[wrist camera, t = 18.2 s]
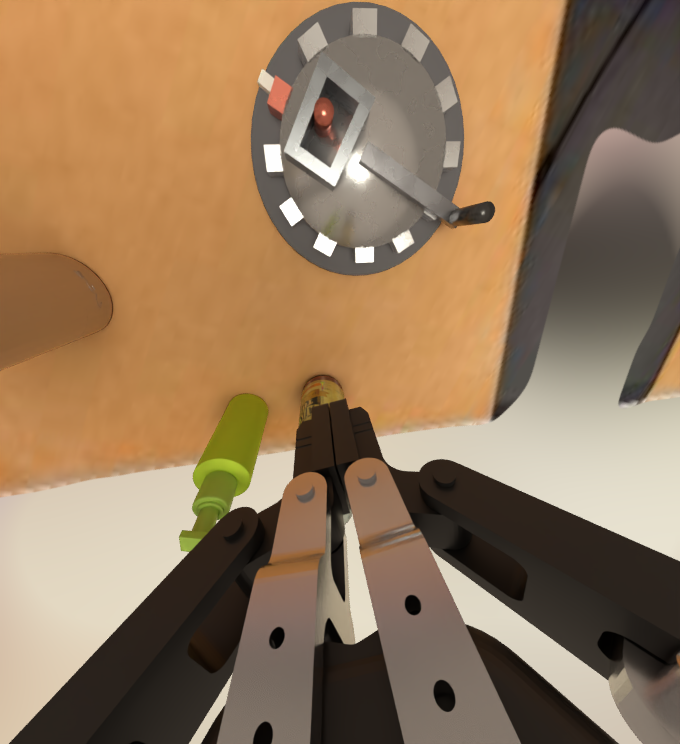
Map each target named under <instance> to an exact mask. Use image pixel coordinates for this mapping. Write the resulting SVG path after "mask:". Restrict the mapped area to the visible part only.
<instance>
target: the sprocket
mask: <svg viewBox="0 0 680 744" xmlns="http://www.w3.org/2000/svg"><path fill="white" fill-rule="evenodd" d="M297 40H298V55H299V58H300V60H301V62H302V64H303V66H304V68H303V69H302V70H301V72H300V73H299V75H298V76H297V78H296V80H295V82H294V84H293V85H292V87H291V86H290V85H288V84H287V83H286V82H284V81H283V80H281V79H280V78H279V77H277V76H276V75H275V78H274V82H273V85H272V88H271V91H270V94H269V98H268V101H267V105H268V108H269V111H270V114H272V115H273V116H275V117H276V118H278V119H279V120H281V121H282V122H281V128H280V144H278V145H264V152H265V159H266V167H267V172H268V174H269V176H270V177H276V176H284V178H285V182H286V185H287V188H288V190H289V193H290V195H291V198H290V199H289V200H287V201H286V202H285V203H283V204H282V205H281V206H279V207H280V208H281V210H282V211H283V213H284V214H285V216H286V218H287V219H288V221H289V222H290V224H291V226H292V227H294V226H295V225H296V224H298V223H299V222H300V221H302V220H303V219H304V220H305V221H306V222H307V223H308V224H309V226H310V227H311V228H312V229H313V230H315V231H316V232H317V233H318V234H319V235H318V238H317V240H316V242H315V244H314V248H316V249H318V250H319V251H321V252H323V253H325V254H326V255H328V256H331V254H332V251H333V249H334V247H335V245H336V244H338V245H341V246H344V247H349V248H353V262H355V263H362V262H374V247H377V246H381V245H384V244H387V243H389V244H390V246H391V249H392V251H393V253H400V252H401V251H403V250H404V249H406V248H407V247H409V246H410V245H412V244H413V243H414V240H413V238H412V236H411V233H410V231H409V229H410V228H411V227H412V226H413V225H414V224H415V223H416V222H417V221H418V220H419V219H420V217H421V218H423V219H424V220H426V221H427V222H428V221H433V220H435V219H436V218H437V219H438V220H440V221H441V222H443V223H444V224H445V225H447V226H448V227H450V228H451V229H453V228H456V227H457V226H464V225H472V224H480V223H486V222H488V221H490V220H491V219H492V217H493V216H494V213H495V207H494V204H493V203H492V202H483V203H479V204H475V205H471V206H467V207H463V208H459V207H457V206H456V205H455V204H453V203H452V202H451V201H449V200H448V199H446V198H445V197H444V196H442V195H441V194H440V193H438V192H437V191H436V190H437V187H438V184H439V181H440V178H441V174H442V172H449V171H451V170H453V169H454V168H456V167H457V166H458V158H459V150H460V142H461V141H446V127H445V120H444V114H445V113H446V112H448V111H449V110H450V109H451V108H452V107H453V106H454V105H455V104H456V103H457V102H458V101H457V97H456V94H455V91H454V87H453V84H452V80H451V77H450V76H448V77H447V78H446V79H444V80H443V81H442V82H441V83H439V84H438V85H437V86H435V85H434V83H433V82H432V80H431V78H430V76H429V74H428V73H427V71H426V70H425V68H424V67H423V66H422V64H421V63H420V61H421V59H422V57H423V55H424V53H425V50H426V48H427V46H428V44H429V42H430V41H429V40H428V39H427V38H426V37H425V36H424V35H423V34H422V33H421V32H420V31H419V30H418V29H417V28H416V27H415V26H413V25H412V24H410V26H409V28H408V30H407V33H406V35H405V37H404V39H403V42H402V44H401V45H400V44H398V43H396V42H394V41H392V40H390V39H388V38H385V37H381V36H378V35H377V8H352V14H351V20H350V25H349V36H347V37H343V38H340V39H338V40H336V41H334V42H332V43H330V44H327V42H326V39H325V37H324V35H323V32H322V30H321V28H320V26H319V23H318V22H317V23H316V24H314V25H313V26H312V27H311V28H310V29H309V30H308V31H307V32H305V33H304V34H303V35H302V36H301V37H300V38H299V39H297ZM321 52H323V53H324V54H326V55H327V56H328V57H329V58H330V59H331V60H333V61H334V62H335V63H336V64H337V65H338V66H340V67H341V68H342V69H343V70H344V71H345V72H347V73H348V74H349V75H350V76H351V77H352V78H354V79H355V80H356V81H357V82H358V83H359V84H361V85H362V86H363V87H364V88H365V89H366V90H368V91H369V92H370V93H371V94H372V95H373V96H375V97H376V98H375V101H374V103H373V105H372V107H371V110H370V112H369V114H368V116H367V118H366V121H365V123H364V125H363V127H362V129H361V132H360V134H359V136H358V138H357V140H356V142H355V145H354V147H353V149H352V151H351V153H350V155H349V158H348V160H347V162H346V164H345V166H344V169H343V171H342V173H341V175H340V177H339V179H338V182H337V184H336V186H335V188H334V190H333V192H332V191H331V190H329V189H328V188H327V187H325V186H324V185H322V184H321V183H319V182H318V181H316V180H315V179H313V178H312V177H311V176H309V175H308V174H306V173H305V172H303V171H302V170H300V169H299V168H298V167H296V166H295V165H293V164H292V163H290V162H289V161H287V160H286V157H285V154H284V149H285V147H286V144H287V141H288V139H289V136H290V133H291V131H292V128H293V125H294V123H295V120H296V118H297V115H298V112H299V110H300V107H301V104H302V102H303V99H304V96H305V94H306V91H307V89H308V86H309V83H310V81H311V78H312V75H313V73H314V70H315V67H316V65H317V62H318V60H319V57H320V54H321ZM352 118H353V115H352V114H351V113H350V112H348V111H347V110H346V109H345V108H344V107H342V106H341V105H340V104H339V103H337V102H336V101H335V100H334V99H332V98H331V97H330V96H329V95H327V94H326V93H325V95H324V97H322V98H319V99H318V100H317V101H316V103H315V106H314V123H313V125H312V128H311V130H310V133H309V135H308V138H307V140H306V143H305V145H304V148H303V149H304V150H306V151H307V152H309V153H310V154H311V155H313V156H314V157H316V158H317V159H318V160H320V161H321V162H323V163H324V164H325V165H327V166H328V167H330V168H331V166H332V163H333V161H334V159H335V157H336V154H337V152H338V150H339V148H340V145H341V143H342V141H343V139H344V136H345V134H346V132H347V130H348V127H349V125H350V123H351V121H352Z"/></svg>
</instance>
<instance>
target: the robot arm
mask: <svg viewBox="0 0 680 744" xmlns="http://www.w3.org/2000/svg"><path fill="white" fill-rule="evenodd" d="M111 315H112V302H111V299H110V295H109V293H108V291H107V289H106V287H105V286H104V284H103V283H102V281H101V280H100V279H99V278H98V277H97V276H96V275H95V274H94V273H93V272H92V271H91V270H90V269H89V268H87V267H86V266H85V265H83V264H82V263H80V262H78V261H76V260H74V259H72V258H70V257H67V256H64V255H61V254H55V253H28V254H0V371H1V370H3V369H6V368H8V367H11V366H13V365H16V364H18V363H21V362H23V361H26V360H28V359H31V358H33V357H36V356H38V355H41V354H43V353H46V352H48V351H51V350H53V349H56V348H58V347H61V346H63V345H66V344H68V343H71V342H73V341H76V340H78V339H81V338H83V337H86V336H88V335H91V334H93V333H96V332H98V331H100V330H101V329H103V328H104V327H105V326H106V325H107V324H108V322H109V320H110V319H111ZM329 405H330V406H329ZM295 448H296V449H295V461H294V473H293V480H291V481H290V482H289V484H288V485H287V486H286V488H285V490H284V493H283V497H282V499H281V500H280V501H278V502H277V503H276V504H274V505H272V506H270V507H269V508H267V509H265V510H263V511H261V512H260V513H258V514H257V513H256V512H255V510H254V509H252V508H250V507H241V508H237V509H235V510H232V511H231V512H229V513H227V514H226V515H225V516H224V517H223V518H222V519H220V521H219V522H218V523H217V524H216V525H215V526H214V527H213V528H212V529H211V530H210V531H209V532H208V533H207V534H206V535H205V536H204V537H203V538H202V540H201V541H200V542H199V543H198V544H197V545H196V546H195V547H194V548H193V549H192V550H191V551H190V552H189V553H188V554H187V556H186V557H185V558H184V559H183V560H182V561H181V562H180V563H179V564H178V565H177V566H176V567H175V568H174V569H173V570H172V572H170V574H169V575H168V576H167V577H166V578H165V579H164V580H163V581H162V582H161V583H160V584H159V585H158V586H157V587H156V588H155V589H154V590H153V592H152V593H151V594H150V595H149V596H148V597H147V598H146V599H145V600H144V601H143V602H142V603H141V604H140V605H139V606H138V608H137V609H135V611H134V612H133V613H132V614H131V615H130V616H129V617H128V618H127V619H126V620H125V621H124V622H123V623H122V624H121V625H120V626H119V628H118V629H117V630H116V631H115V632H114V633H113V634H112V635H111V636H110V637H109V638H108V639H107V640H106V641H105V643H103V645H102V646H101V647H100V648H99V649H98V650H97V651H96V652H95V653H94V654H93V655H92V656H91V657H90V658H89V659H88V660H87V661H86V663H85V664H84V665H83V666H82V667H81V668H80V669H79V670H78V671H77V672H76V673H75V674H74V675H73V676H72V677H71V678H70V679H69V681H68V682H67V683H66V684H65V685H64V686H63V687H62V688H61V689H60V690H59V691H58V692H57V693H56V694H55V695H54V696H53V697H52V699H51V700H50V701H49V702H48V703H47V704H46V705H45V706H44V707H43V708H42V709H41V710H40V711H39V712H38V713H37V714H36V716H35V717H34V718H33V719H32V720H31V721H30V722H29V723H28V724H27V725H26V726H25V727H24V728H23V729H22V731H20V732H19V733H18V735H17V736H16V737H15V738H14V739H13V740H12V741H11V742H10V743H9V744H189V742H190V741H191V739H192V737H193V736H194V734H195V733H196V731H197V729H198V728H199V726H200V724H201V723H202V721H203V720H204V718H205V716H206V715H207V713H208V712H209V710H210V708H211V707H212V705H213V704H214V702H215V700H216V699H217V697H218V696H219V694H220V692H221V691H222V689H223V687H224V686H225V684H226V683H227V681H228V679H229V678H230V676H231V675H232V673H233V675H232V679H231V684H230V688H229V692H228V697H227V701H226V704H225V706H224V707H223V709H222V710H221V712H220V713H219V715H218V716H217V718H216V719H215V721H214V722H213V724H212V726H211V728H210V729H209V731H208V733H207V734H206V736H205V738H204V739H203V741H202V743H201V744H618V743H617V742H616V741H615V740H614V739H613V738H612V737H610V736H609V735H608V734H607V733H606V732H605V731H604V730H602V729H601V728H600V727H599V726H598V725H597V724H596V723H594V722H593V721H592V720H591V719H590V718H589V717H588V716H586V715H585V714H584V713H583V712H582V711H581V710H579V709H578V708H577V707H576V706H575V705H574V704H573V703H571V702H570V701H569V700H568V699H567V698H566V697H565V696H563V695H562V694H561V693H560V692H559V691H558V690H557V689H556V688H554V687H553V686H552V685H551V684H550V683H549V682H547V681H546V680H545V679H544V678H543V677H542V676H541V675H540V674H538V673H537V672H536V671H535V670H534V669H532V667H530V666H529V665H528V664H527V663H526V662H525V661H523V660H522V659H521V658H520V657H519V656H518V655H517V654H515V653H514V652H513V651H512V650H511V649H509V648H508V647H507V646H505V645H504V644H502V643H501V642H499V641H498V640H497V639H495V638H493V637H492V636H490V635H488V634H487V633H485V632H483V631H481V630H478V629H476V628H474V627H471V626H469V625H466V624H465V623H464V621H463V619H462V617H461V615H460V612H459V610H458V608H457V606H456V604H455V602H454V600H453V598H452V595H451V593H450V591H449V589H448V587H447V585H446V583H445V580H444V579H443V576H442V574H441V572H440V570H439V568H438V566H437V563H436V561H435V559H434V557H433V555H432V553H431V551H430V549H429V547H430V548H431V549H432V550H433V551H434V552H435V553H436V554H437V555H438V556H440V557H441V558H442V559H444V560H445V561H446V562H448V563H449V564H450V565H452V566H453V567H455V568H456V569H457V570H459V571H460V572H462V573H463V574H464V575H466V576H467V577H468V578H470V579H471V580H472V581H474V582H475V583H476V584H478V585H479V586H481V587H482V588H483V589H485V590H486V591H487V592H489V593H490V594H491V595H493V596H494V597H495V598H497V599H498V600H499V601H501V602H502V603H504V604H505V605H506V606H508V607H509V608H510V609H512V610H513V611H514V612H516V613H517V614H519V615H520V616H522V617H523V618H524V619H525V620H527V621H528V622H529V623H531V624H533V625H534V626H535V627H536V628H538V629H539V630H540V631H542V632H543V633H544V634H546V635H547V636H549V637H550V638H551V639H553V640H554V641H555V642H557V643H558V644H559V645H561V646H562V647H564V648H565V649H566V650H568V651H569V652H570V653H572V654H573V655H574V656H576V657H577V658H579V659H580V660H581V661H583V662H584V663H585V664H587V665H588V666H589V667H591V668H592V669H594V670H595V671H596V672H598V673H599V674H600V675H602V676H603V677H604V678H606V679H607V680H609V685H610V690H611V693H612V696H613V699H614V701H615V703H616V706H617V708H618V709H619V711H620V713H621V715H622V717H623V718H624V720H625V721H626V723H627V724H628V726H629V727H630V729H631V730H632V731H633V733H634V734H635V735H636V736H637V738H638V739H639V740H640V741H641V742H642V743H643V744H680V561H678V560H675V559H673V558H671V557H668V556H666V555H664V554H662V553H659V552H657V551H655V550H652V549H650V548H648V547H646V546H644V545H641V544H639V543H637V542H635V541H632V540H630V539H628V538H625V537H623V536H621V535H619V534H617V533H614V532H612V531H610V530H607V529H605V528H603V527H601V526H598V525H596V524H594V523H591V522H589V521H587V520H585V519H583V518H580V517H578V516H576V515H573V514H571V513H569V512H567V511H564V510H562V509H559V508H558V507H555V506H553V505H551V504H549V503H546V502H544V501H542V500H539V499H537V498H535V497H533V496H530V495H528V494H526V493H524V492H522V491H519V490H517V489H515V488H512V487H510V486H508V485H505V484H503V483H501V482H499V481H497V480H494V479H492V478H490V477H488V476H485V475H483V474H480V473H479V472H476V471H474V470H471V469H469V468H467V467H465V466H463V465H460V464H458V463H456V462H453V461H450V460H444V459H440V460H433V461H430V462H428V463H426V464H425V465H424V466H423V467H422V468H421V470H420V472H408V471H400V470H397V469H395V468H393V467H391V466H390V465H388V464H387V463H386V462H385V460H384V459H383V457H382V453H381V450H380V447H379V445H378V442H377V439H376V436H375V433H374V430H373V427H372V424H371V421H370V418H369V415H368V412H366V411H365V410H364V409H363V408H361V407H358V408H354V409H350V410H349V409H348V405H347V401H346V398H345V399H341V400H337V401H333V402H330V403H326V404H322V405H318V406H314V407H312V408H311V419H310V420H306V421H302V423H301V424H300V426H299V428H298V429H297V434H296V447H295ZM349 505H350V508H351V511H352V514H353V519H354V523H355V527H356V531H357V535H358V540H359V544H360V547H359V549H360V554H361V559H362V563H363V567H364V572H365V575H366V580H367V585H368V589H369V593H370V597H371V601H372V606H373V610H374V615H375V619H376V623H377V628H378V630H377V631H376V632H374V633H373V634H371V635H369V636H368V637H366V638H365V639H363V640H362V641H360V642H358V643H356V644H355V637H354V628H353V623H352V618H351V612H350V603H349V585H348V564H347V563H348V562H347V541H346V535H345V527H344V518H343V515H345V514H349V513H350V508H349Z"/></svg>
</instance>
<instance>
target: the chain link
mask: <svg viewBox="0 0 680 744" xmlns="http://www.w3.org/2000/svg"><path fill="white" fill-rule="evenodd" d="M325 93H326V94H327V95H329V96H330V97H331V98H332V99H334V100H335V101H336V102H337V103H339V104H340V105H341V106H342V107H344V108H345V109H346V110H347V111H348V112H350V113H351V114H352V115H353V118H352V121H351V123H350V125H349V127H348V130H347V132H346V134H345V136H344V139H343V141H342V143H341V145H340V148H339V150H338V152H337V154H336V157H335V159H334V161H333V163H332V166H331V168H330V167H328V166H327V165H325V164H324V163H323V162H321V161H320V160H318V159H317V158H316V157H314V156H313V155H311V154H310V153H309V152H307V151H306V150H304V149H303V148H304V145H305V143H306V140H307V138H308V135H309V133H310V130H311V128H312V125H313V123H314V106H315V103H316V101H317V100H318V99H319V98H322V97H324V95H325ZM375 98H376V97H375V96H373V95H372V94H371V93H370V92H369V91H368V90H366V89H365V88H364V87H363V86H362V85H361V84H359V83H358V82H357V81H356V80H355V79H354V78H352V77H351V76H350V75H349V74H348V73H347V72H345V71H344V70H343V69H342V68H341V67H340V66H338V65H337V64H336V63H335V62H334V61H333V60H331V59H330V58H329V57H328V56H327V55H326V54H324V53H323V52H321V54H320V57H319V60H318V62H317V65H316V67H315V70H314V73H313V75H312V78H311V81H310V83H309V86H308V89H307V91H306V94H305V96H304V99H303V102H302V104H301V107H300V110H299V112H298V115H297V118H296V120H295V123H294V125H293V128H292V131H291V133H290V136H289V139H288V141H287V144H286V147H285V149H284V154H285V157H286V160H287V161H289V162H290V163H292V164H293V165H295V166H296V167H298V168H299V169H300V170H302V171H303V172H305V173H306V174H308V175H309V176H311V177H312V178H313V179H315V180H316V181H318V182H319V183H321V184H322V185H324V186H325V187H327V188H328V189H329V190H331V191H332V192H333V190H334V188H335V186H336V184H337V182H338V179H339V177H340V175H341V173H342V171H343V169H344V166H345V164H346V162H347V160H348V158H349V155H350V153H351V151H352V149H353V147H354V145H355V142H356V140H357V138H358V136H359V134H360V132H361V129H362V127H363V125H364V123H365V121H366V118H367V116H368V114H369V112H370V110H371V107H372V105H373V103H374V101H375Z"/></svg>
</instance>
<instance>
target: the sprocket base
mask: <svg viewBox="0 0 680 744" xmlns="http://www.w3.org/2000/svg"><path fill="white" fill-rule="evenodd" d="M352 8H377V35H378V36H381V37H385V38H388V39H390V40H392V41H394V42H396V43H398V44H400V45H401V44H402V42H403V39H404V37H405V35H406V33H407V30H408V28H409V26H410V24H412V25H413V26H415V27H416V28H417V29H418V30H419V31H420V32H421V33H422V34H423V35H424V36H425V37H426V38H427V39H428V40H429V41H430V42H429V44H428V46H427V48H426V50H425V53H424V55H423V57H422V59H421V61H420V63H421V64H422V66H423V67H424V68H425V70H426V71H427V73H428V74H429V76H430V78H431V80H432V82H433V83H434V85H435V86H437V85H438V84H439V83H441V82H442V81H443V80H444V79H446V78H447V77H448V76H450V77H451V80H452V84H453V87H454V91H455V94H456V97H457V101H458V102H457V103H456V104H455V105H454V106H453V107H452V108H451V109H450V110H449V111H448V112H446V113H445V114H444V120H445V127H446V141H461V142H460V150H459V158H458V166H457V167H456V168H454V169H453V170H451V171H449V172H442V174H441V178H440V181H439V184H438V187H437V190H436V191H437V192H438V193H440V194H441V195H442V196H444V197H445V198H446V199H448V200H449V201H451V202H452V199H453V196H454V194H455V191H456V188H457V184H458V180H459V176H460V172H461V166H462V159H463V148H464V128H463V116H462V110H461V104H460V99H459V95H458V92H457V88H456V85H455V81H454V79H453V77H452V74H451V72H450V69H449V67H448V65H447V63H446V61H445V60H444V58H443V56H442V54H441V52H440V51H439V49H438V48H437V47H436V45H435V44H434V43H433V41H432V40H431V39H430V37H429V36H428V35H427V34H426V33H425V32H424V31H423V30H422V29H421V28H420V27H419V26H418V25H417V24H416V23H414V22H413V21H411V20H410V19H409V18H407V17H406V16H404V15H403V14H401V13H399V12H397V11H395V10H393V9H390V8H388V7H386V6H382V5H378V4H374V3H369V2H349V3H343V4H337V5H334V6H331V7H329V8H326V9H323V10H321V11H319V12H317V13H316V14H314V15H312V16H311V17H309V18H307V19H306V20H304V21H303V22H302V23H301V24H300V25H299V26H298V27H296V28H295V29H294V30H293V31H292V32H291V33H290V34H289V35H288V36H287V38H286V39H285V40H284V41H283V42H282V44H281V45H280V46H279V48H278V49H277V51H276V53H275V54H274V56H273V57H272V59H271V61H270V62H269V64H268V67H267V69H266V71H265V70H264V69H262V71H261V73H260V76H259V79H258V85H259V90H258V93H257V96H256V100H255V106H254V111H253V117H252V129H251V152H252V161H253V168H254V174H255V178H256V182H257V186H258V190H259V193H260V196H261V198H262V201H263V204H264V206H265V208H266V210H267V212H268V214H269V216H270V218H271V220H272V222H273V223H274V225H275V226H276V228H277V230H278V231H279V233H280V234H281V235H282V236H283V237H284V239H285V240H286V241H287V242H288V244H289V245H290V246H292V247H293V248H294V249H295V250H296V251H297V252H298V253H299V254H300V255H302V256H303V257H304V258H306V259H307V260H308V261H310V262H312V263H314V264H315V265H317V266H319V267H321V268H324V269H326V270H329V271H331V272H335V273H339V274H344V275H369V274H374V273H379V272H382V271H385V270H388V269H390V268H392V267H394V266H396V265H398V264H400V263H402V262H403V261H405V260H406V259H408V258H410V257H411V256H412V255H413V254H414V253H416V252H417V251H418V250H419V249H420V248H421V247H422V246H423V245H424V244H425V243H426V242H427V241H428V240H429V239H430V237H431V236H432V235H433V233H434V232H435V231H436V229H437V228H438V227H439V225H440V223H441V221H440V220H438V219H437V218H436V219H435V220H433V221H428V222H427V221H426V220H424V219H423V218H421V217H420V219H419V220H418V221H417V222H416V223H415V224H414V225H413V226H412V227H411V228H410V229H409V231H410V233H411V236H412V238H413V240H414V243H413V244H412V245H410V246H409V247H407V248H406V249H404V250H403V251H401V252H400V253H393V251H392V249H391V246H390V244H389V243H387V244H384V245H381V246H377V247H374V262H362V263H355V262H353V248H349V247H344V246H341V245H338V244H336V245H335V247H334V249H333V251H332V254H331V256H328V255H326V254H325V253H323V252H321V251H319V250H318V249H316V248H314V244H315V242H316V240H317V238H318V235H319V234H318V233H317V232H316V231H315V230H313V229H312V228H311V227H310V226H309V224H308V223H307V222H306V221H305V220H304V219H303V220H302V221H300V222H299V223H298V224H296V225H295V226H294V227H292V226H291V224H290V222H289V221H288V219H287V218H286V216H285V214H284V213H283V211H282V210H281V208H280V207H279V206H281V205H282V204H283V203H285V202H286V201H287V200H289V199H290V198H291V195H290V193H289V190H288V188H287V185H286V182H285V178H284V176H276V177H270V176H269V174H268V172H267V167H266V159H265V152H264V145H278V144H280V128H281V122H282V121H281V120H279V119H278V118H276V117H275V116H273V115H272V114H270V111H269V108H268V105H267V101H268V98H269V94H270V91H271V88H272V85H273V82H274V78H275V75H276V76H277V77H279V78H280V79H281V80H283V81H284V82H286V83H287V84H288V85H290V86H291V87H292V85H293V84H294V82H295V80H296V78H297V76H298V75H299V73H300V72H301V70H302V69H303V68H304V66H303V64H302V62H301V60H300V58H299V55H298V40H297V39H299V38H300V37H301V36H302V35H303V34H304V33H305V32H307V31H308V30H309V29H310V28H311V27H312V26H313V25H314V24H316V23H317V22H318V23H319V26H320V28H321V30H322V32H323V35H324V37H325V39H326V42H327V44H330V43H332V42H334V41H336V40H338V39H340V38H343V37H347V36H349V25H350V20H351V14H352Z"/></svg>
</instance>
